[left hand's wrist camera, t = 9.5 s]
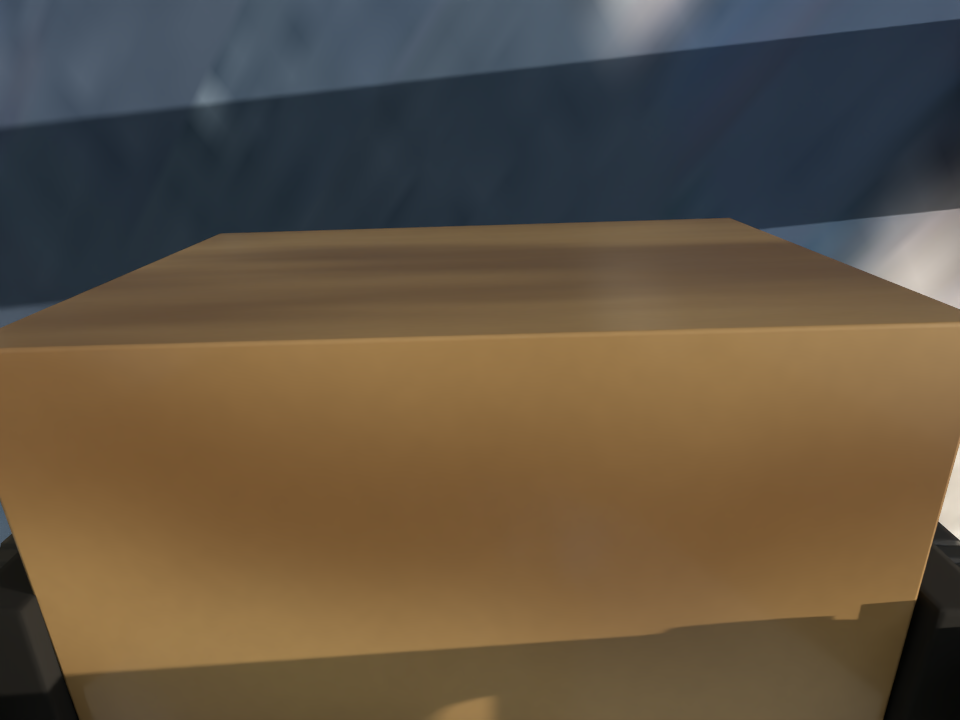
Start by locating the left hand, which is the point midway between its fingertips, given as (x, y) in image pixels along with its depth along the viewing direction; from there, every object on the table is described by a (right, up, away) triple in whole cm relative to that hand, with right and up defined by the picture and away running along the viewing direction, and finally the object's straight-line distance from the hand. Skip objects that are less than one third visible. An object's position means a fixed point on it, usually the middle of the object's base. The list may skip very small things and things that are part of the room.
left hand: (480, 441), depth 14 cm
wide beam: (+1, -33, +13) cm, 36 cm away
